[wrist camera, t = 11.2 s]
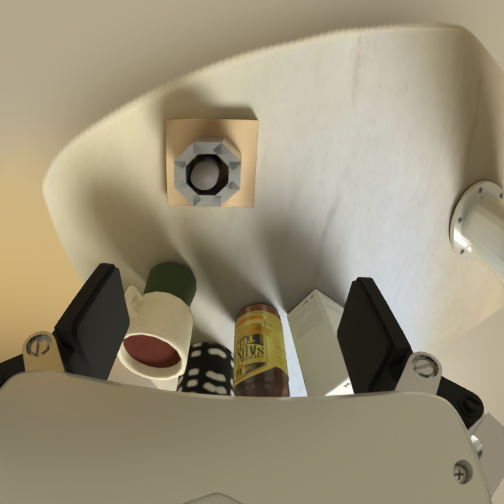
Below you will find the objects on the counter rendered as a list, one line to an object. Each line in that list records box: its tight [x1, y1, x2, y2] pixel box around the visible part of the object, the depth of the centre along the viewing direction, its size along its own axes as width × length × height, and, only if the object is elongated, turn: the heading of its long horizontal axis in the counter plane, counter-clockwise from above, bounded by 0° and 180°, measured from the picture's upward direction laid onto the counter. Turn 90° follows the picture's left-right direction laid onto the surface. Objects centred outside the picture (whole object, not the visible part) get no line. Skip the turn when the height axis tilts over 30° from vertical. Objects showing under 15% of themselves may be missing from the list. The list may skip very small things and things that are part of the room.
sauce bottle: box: [233, 304, 290, 397], centre depth 31 cm, size 6×6×20 cm
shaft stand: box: [166, 119, 259, 208], centre depth 26 cm, size 9×9×7 cm
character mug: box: [117, 263, 196, 380], centre depth 30 cm, size 11×7×13 cm, turn 22°
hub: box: [174, 136, 242, 207], centre depth 26 cm, size 6×6×5 cm
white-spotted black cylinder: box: [176, 343, 235, 396], centre depth 35 cm, size 8×8×20 cm
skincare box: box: [287, 289, 354, 397], centre depth 33 cm, size 8×6×15 cm
